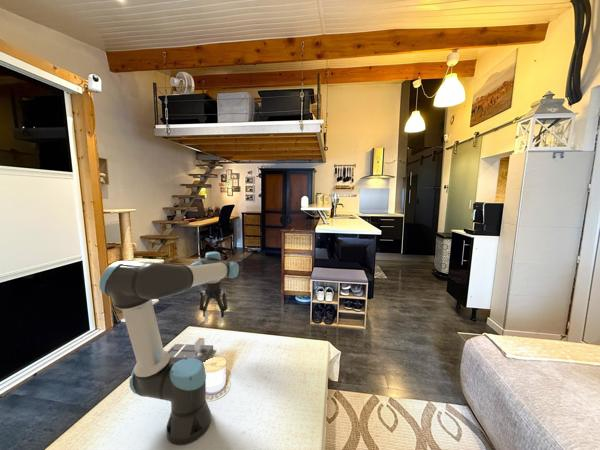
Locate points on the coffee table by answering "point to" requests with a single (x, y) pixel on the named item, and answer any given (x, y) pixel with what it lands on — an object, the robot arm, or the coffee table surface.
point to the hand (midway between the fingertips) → (213, 322)
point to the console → (188, 352)
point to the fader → (199, 345)
